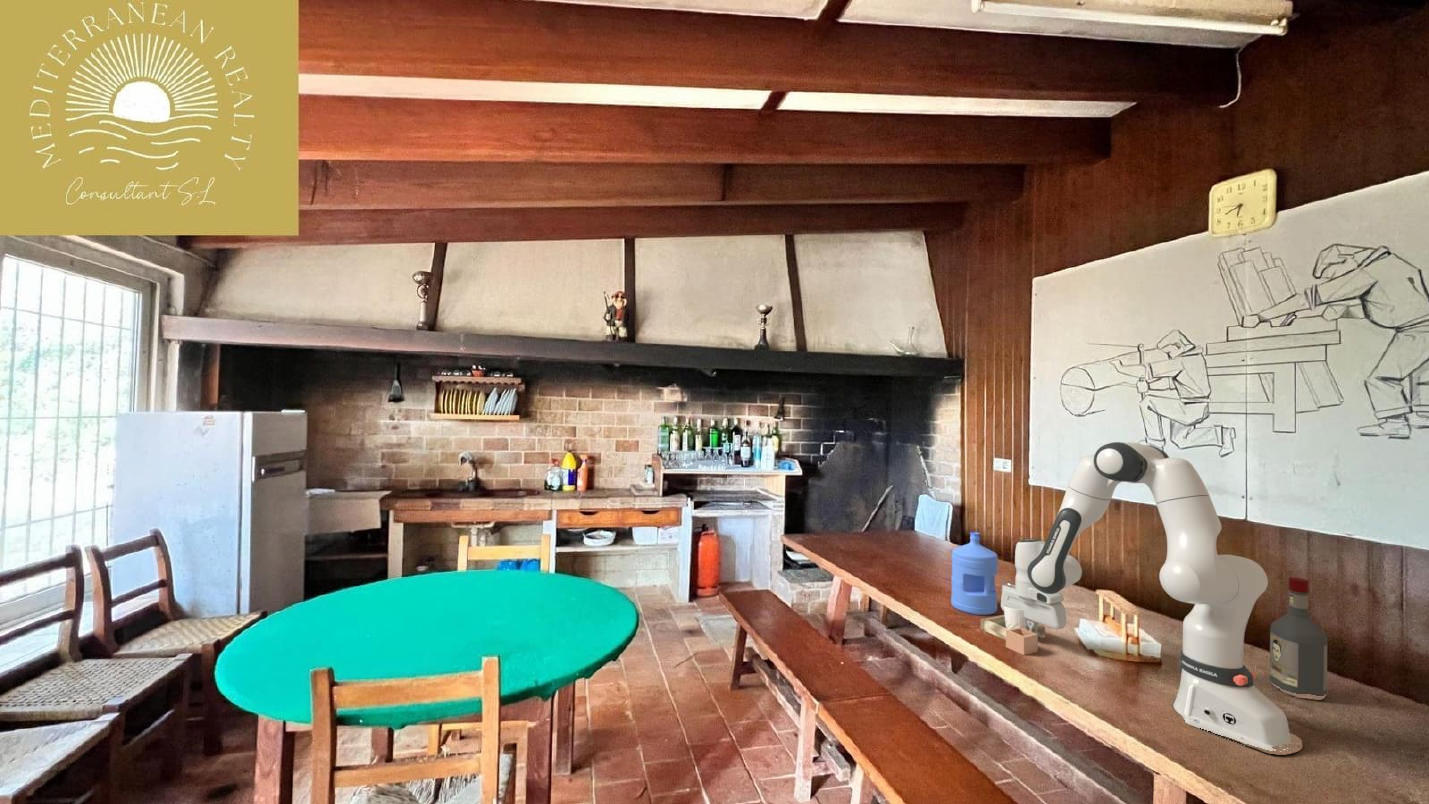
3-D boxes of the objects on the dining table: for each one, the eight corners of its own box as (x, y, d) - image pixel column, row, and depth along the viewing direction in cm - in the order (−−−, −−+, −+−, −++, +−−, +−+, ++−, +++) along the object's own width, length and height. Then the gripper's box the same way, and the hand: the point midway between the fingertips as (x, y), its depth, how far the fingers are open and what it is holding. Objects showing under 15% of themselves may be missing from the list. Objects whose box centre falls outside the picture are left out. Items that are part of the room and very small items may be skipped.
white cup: (1024, 633, 185) (1022, 602, 186) (1037, 641, 177) (1035, 609, 178) (1000, 633, 185) (998, 602, 186) (1012, 642, 178) (1010, 609, 178)
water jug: (941, 602, 214) (942, 529, 214) (975, 599, 218) (976, 527, 218) (972, 617, 199) (973, 538, 199) (1007, 613, 203) (1008, 536, 204)
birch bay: (1044, 639, 181) (1045, 627, 181) (1014, 646, 175) (1014, 633, 175) (1009, 625, 192) (1010, 613, 192) (980, 631, 187) (980, 619, 187)
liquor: (1306, 686, 152) (1307, 576, 153) (1332, 703, 144) (1333, 586, 144) (1264, 681, 155) (1266, 572, 155) (1288, 697, 146) (1289, 582, 146)
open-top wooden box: (1037, 654, 170) (1037, 634, 170) (1023, 657, 167) (1023, 637, 167) (1019, 646, 175) (1019, 627, 175) (1005, 649, 173) (1005, 629, 173)
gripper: (995, 582, 186) (996, 624, 186) (1055, 600, 167) (1056, 647, 167) (1009, 580, 189) (1009, 621, 188) (1068, 597, 170) (1070, 643, 170)
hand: (1032, 633), depth 177 cm, fingers closed, pressing on white cup
